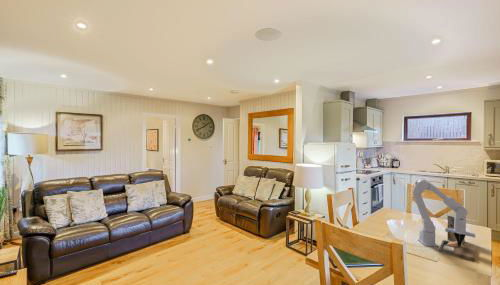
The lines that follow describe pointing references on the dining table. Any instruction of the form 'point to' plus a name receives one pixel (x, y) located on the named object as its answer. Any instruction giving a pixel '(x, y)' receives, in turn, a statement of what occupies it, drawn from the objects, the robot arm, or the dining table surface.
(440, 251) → the tray
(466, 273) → the dining table surface
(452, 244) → the terracotta tile
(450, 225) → the coffee box
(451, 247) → the cream tile
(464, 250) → the walnut ledge
